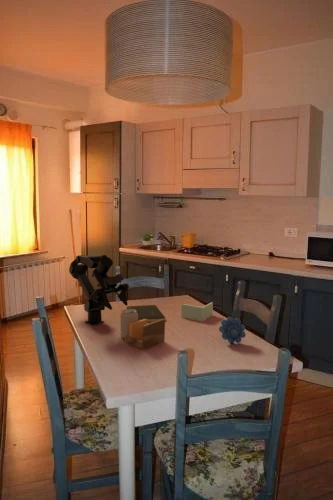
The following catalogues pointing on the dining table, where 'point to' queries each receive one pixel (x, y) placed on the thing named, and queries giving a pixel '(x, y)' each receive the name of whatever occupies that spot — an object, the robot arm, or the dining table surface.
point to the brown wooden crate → (149, 335)
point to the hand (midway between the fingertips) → (119, 307)
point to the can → (127, 321)
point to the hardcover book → (147, 312)
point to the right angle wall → (197, 312)
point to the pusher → (137, 329)
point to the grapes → (232, 330)
